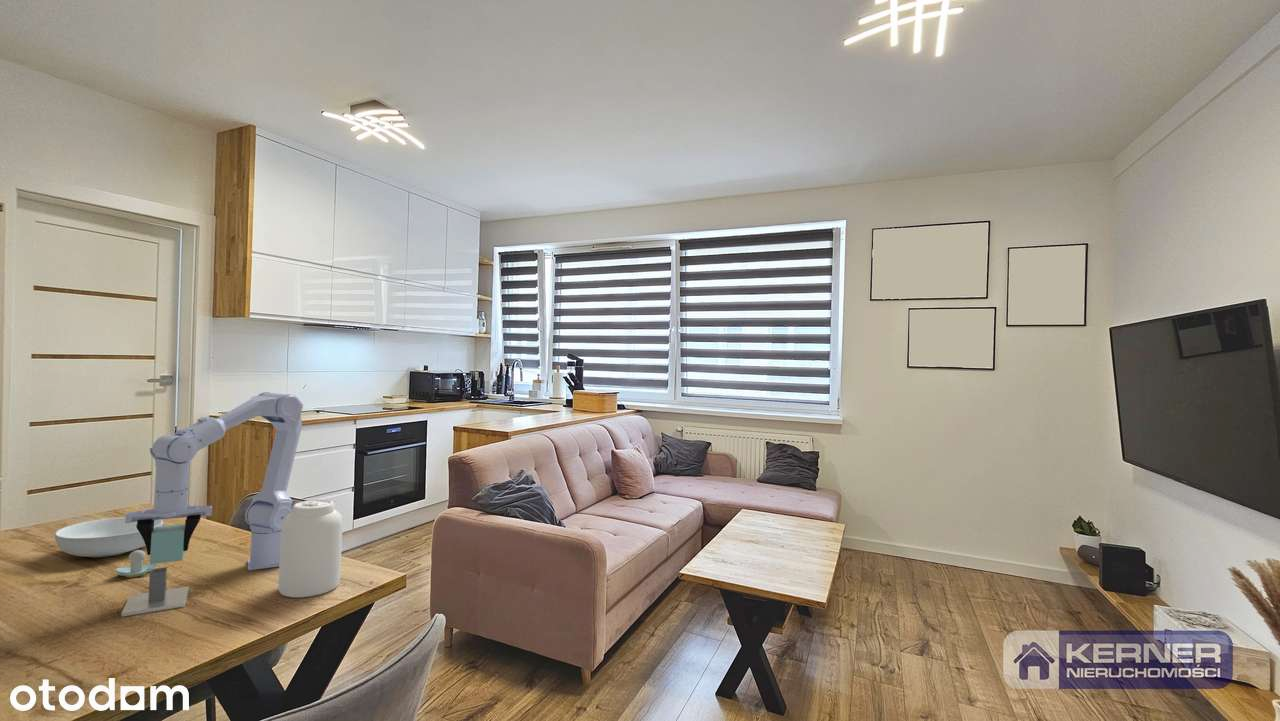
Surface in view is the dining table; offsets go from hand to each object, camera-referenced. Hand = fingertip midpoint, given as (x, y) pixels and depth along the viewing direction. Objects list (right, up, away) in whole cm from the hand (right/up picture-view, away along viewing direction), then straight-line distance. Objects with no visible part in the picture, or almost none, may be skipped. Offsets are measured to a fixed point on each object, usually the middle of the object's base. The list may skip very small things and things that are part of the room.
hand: (168, 551), depth 124 cm
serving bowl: (-37, -9, +25) cm, 45 cm away
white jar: (+26, -12, +8) cm, 30 cm away
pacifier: (-18, -10, +12) cm, 23 cm away
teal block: (0, -2, 0) cm, 2 cm away
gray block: (0, -10, -3) cm, 10 cm away
